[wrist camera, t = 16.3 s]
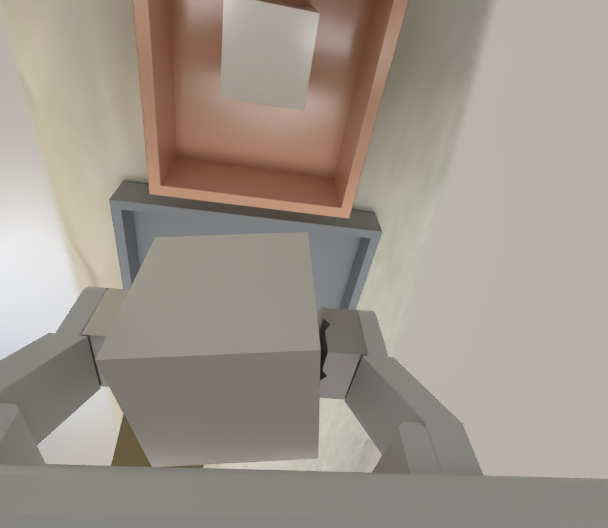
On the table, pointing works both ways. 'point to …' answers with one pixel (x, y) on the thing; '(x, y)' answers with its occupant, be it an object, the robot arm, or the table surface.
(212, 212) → the tray
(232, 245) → the block
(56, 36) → the table surface
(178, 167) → the bin
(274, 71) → the white cube
